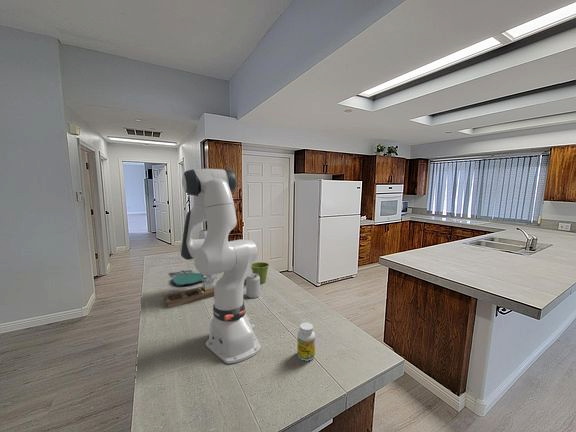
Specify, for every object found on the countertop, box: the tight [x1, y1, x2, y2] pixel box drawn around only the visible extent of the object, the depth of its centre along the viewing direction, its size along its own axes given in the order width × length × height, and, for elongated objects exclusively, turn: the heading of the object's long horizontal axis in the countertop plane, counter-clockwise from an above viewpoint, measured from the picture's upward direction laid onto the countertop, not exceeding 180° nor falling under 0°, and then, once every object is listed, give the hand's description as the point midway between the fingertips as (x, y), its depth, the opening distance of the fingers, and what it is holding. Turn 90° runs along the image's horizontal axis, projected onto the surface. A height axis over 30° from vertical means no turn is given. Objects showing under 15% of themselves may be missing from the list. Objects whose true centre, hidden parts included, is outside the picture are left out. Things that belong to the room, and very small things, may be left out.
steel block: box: [201, 277, 213, 292], centre depth 137 cm, size 5×5×8 cm
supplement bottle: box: [296, 322, 316, 362], centre depth 87 cm, size 6×6×11 cm
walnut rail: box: [163, 284, 215, 309], centre depth 133 cm, size 11×26×3 cm, turn 127°
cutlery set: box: [168, 269, 204, 287], centre depth 160 cm, size 20×30×2 cm, turn 37°
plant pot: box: [250, 261, 270, 284], centre depth 155 cm, size 12×12×11 cm
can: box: [245, 272, 261, 299], centre depth 135 cm, size 8×8×12 cm
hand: (208, 282), depth 137 cm, fingers open, 8 cm apart
